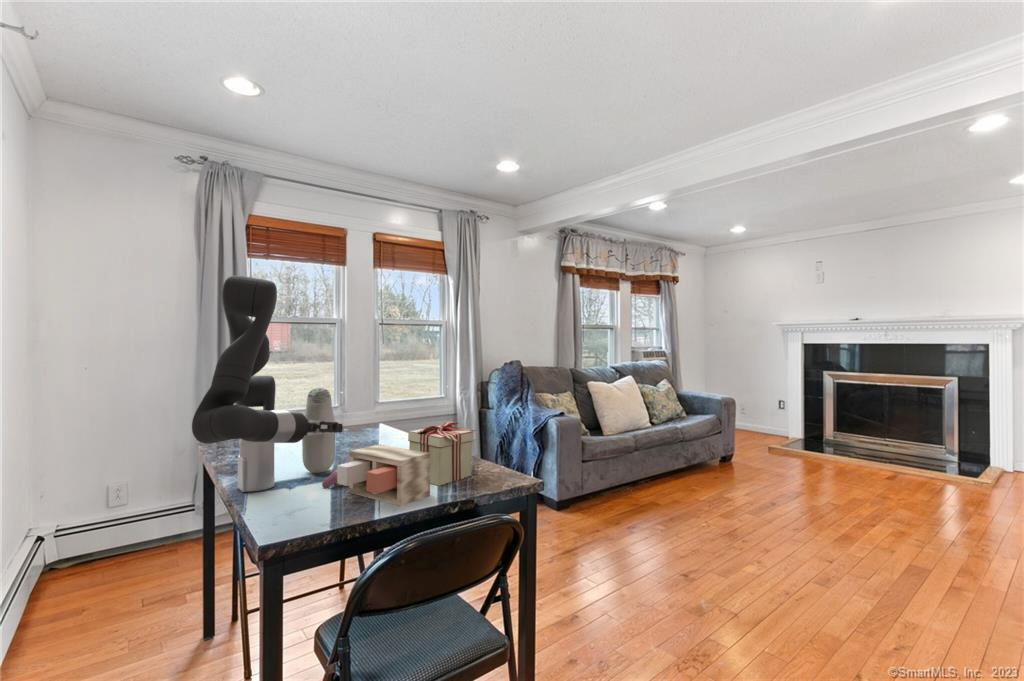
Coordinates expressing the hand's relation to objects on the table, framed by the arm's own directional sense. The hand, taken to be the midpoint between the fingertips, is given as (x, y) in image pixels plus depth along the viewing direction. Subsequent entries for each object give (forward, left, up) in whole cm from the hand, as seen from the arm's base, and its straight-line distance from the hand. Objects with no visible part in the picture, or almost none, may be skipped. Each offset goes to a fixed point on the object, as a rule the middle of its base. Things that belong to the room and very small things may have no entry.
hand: (328, 428), depth 130 cm
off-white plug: (+8, +1, -16) cm, 18 cm away
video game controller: (+10, +17, -21) cm, 28 cm away
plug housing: (+16, -3, -20) cm, 26 cm away
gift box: (+38, +1, -21) cm, 43 cm away
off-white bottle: (+10, +34, -21) cm, 41 cm away
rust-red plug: (+11, -10, -16) cm, 22 cm away
